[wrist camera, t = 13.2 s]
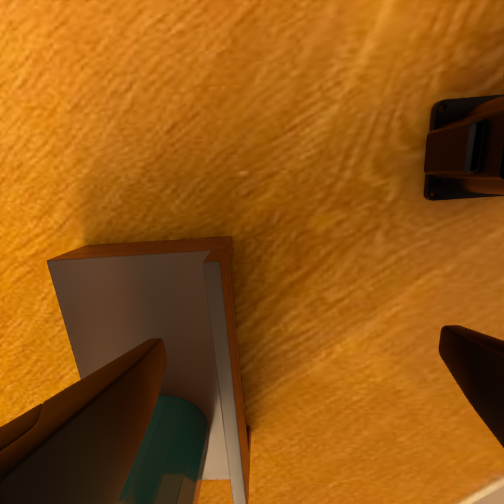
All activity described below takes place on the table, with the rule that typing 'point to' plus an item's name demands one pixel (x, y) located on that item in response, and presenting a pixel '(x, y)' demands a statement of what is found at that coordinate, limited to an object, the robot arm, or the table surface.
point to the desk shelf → (165, 329)
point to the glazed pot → (169, 456)
